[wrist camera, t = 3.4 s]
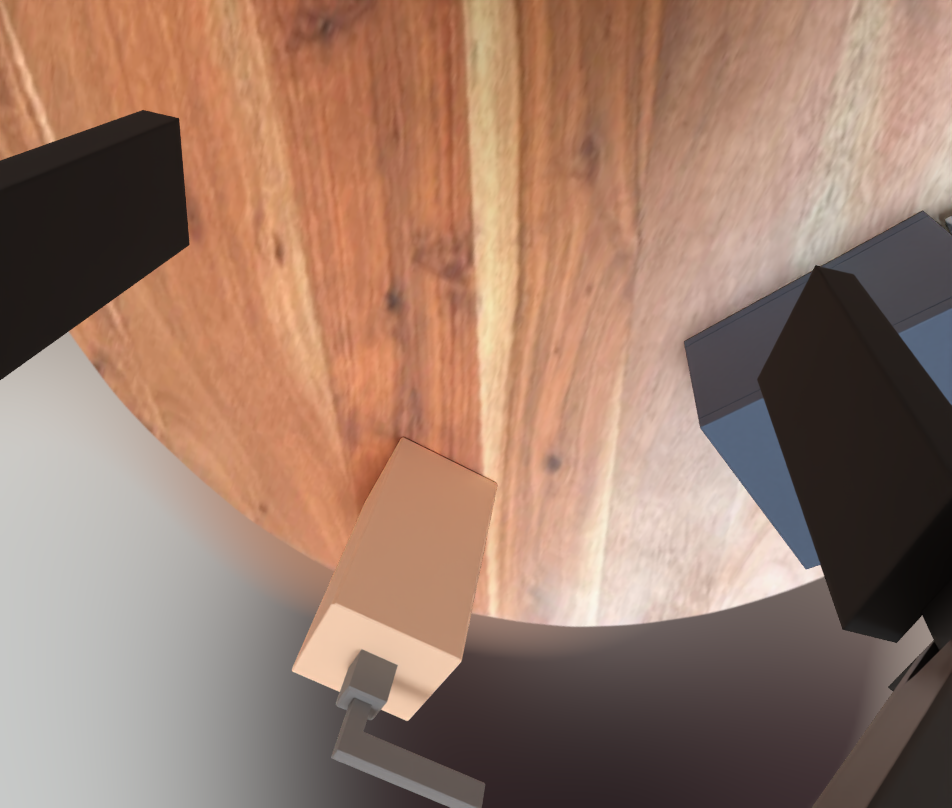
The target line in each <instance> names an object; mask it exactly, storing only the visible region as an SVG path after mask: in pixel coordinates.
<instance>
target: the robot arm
mask: <svg viewBox="0 0 952 808" xmlns="http://www.w3.org/2000/svg"><path fill="white" fill-rule="evenodd" d="M188 245H189V233H188V221H187V209H186V197H185V185H184V173H183V161H182V149H181V137H180V125H179V118H175V117H171V116H166V115H162V114H158V113H153V112H149V111H145V110H142V111H139V112H136V113H133V114H131V115H128V116H125V117H122V118H119V119H117V120H114V121H111V122H108V123H105V124H102V125H100V126H97V127H94V128H91V129H88V130H86V131H83V132H80V133H77V134H74V135H71V136H69V137H66V138H63V139H60V140H57V141H55V142H52V143H49V144H46V145H43V146H40V147H38V148H35V149H32V150H29V151H26V152H24V153H21V154H18V155H15V156H12V157H9V158H7V159H4V160H1V161H0V380H1V379H3V378H4V377H5V376H7V375H8V374H9V373H11V372H12V371H14V370H15V369H17V368H18V367H19V366H21V365H22V364H23V363H25V362H26V361H27V360H29V359H31V358H32V357H33V356H35V355H36V354H37V353H39V352H40V351H42V350H43V349H45V348H46V347H47V346H49V345H50V344H52V343H53V342H54V341H56V340H57V339H59V338H60V337H61V336H63V335H64V334H65V333H67V332H68V331H70V330H71V329H73V328H74V327H75V326H77V325H78V324H80V323H81V322H82V321H84V320H85V319H87V318H88V317H89V316H91V315H92V314H93V313H95V312H96V311H98V310H99V309H100V308H102V307H103V306H105V305H106V304H107V303H109V302H110V301H112V300H113V299H114V298H116V297H117V296H119V295H120V294H121V293H123V292H124V291H126V290H127V289H128V288H130V287H131V286H133V285H134V284H135V283H137V282H138V281H140V280H141V279H142V278H144V277H145V276H147V275H148V274H149V273H151V272H152V271H154V270H155V269H156V268H158V267H159V266H161V265H162V264H163V263H165V262H166V261H168V260H169V259H170V258H172V257H173V256H175V255H176V254H177V253H179V252H180V251H181V250H183V249H184V248H186V247H187V246H188ZM757 381H758V384H759V387H760V389H761V392H762V395H763V398H764V401H765V404H766V407H767V410H768V413H769V416H770V419H771V422H772V425H773V427H774V430H775V433H776V436H777V439H778V442H779V445H780V448H781V451H782V454H783V457H784V460H785V462H786V465H787V468H788V471H789V474H790V477H791V480H792V483H793V486H794V489H795V492H796V495H797V498H798V500H799V503H800V506H801V509H802V512H803V515H804V518H805V521H806V524H807V527H808V530H809V533H810V535H811V538H812V541H813V544H814V547H815V550H816V553H817V556H818V559H819V562H820V565H821V568H822V571H823V573H824V576H825V579H826V582H827V585H828V588H829V591H830V594H831V597H832V600H833V603H834V606H835V609H836V611H837V614H838V617H839V620H840V623H841V626H842V629H843V630H847V631H851V632H855V633H859V634H863V635H867V636H871V637H875V638H879V639H883V640H887V641H892V642H895V643H897V642H898V641H899V640H900V639H901V638H902V637H903V635H904V634H905V633H906V632H907V631H908V630H909V629H910V628H911V627H912V626H913V624H915V623H916V621H917V620H918V619H919V618H920V617H921V616H922V615H923V617H924V620H925V622H926V624H927V626H928V628H929V630H930V632H931V635H932V637H933V639H934V640H933V642H932V643H931V644H930V645H929V646H928V647H927V648H926V649H925V650H924V651H923V652H922V653H921V654H920V655H919V656H918V657H917V658H916V659H915V660H914V661H913V662H912V663H911V664H910V665H909V666H908V667H907V668H906V669H905V670H904V671H903V672H902V673H901V674H900V675H899V677H897V678H896V679H895V680H894V682H893V683H892V684H891V685H890V686H889V687H888V688H890V689H891V690H892V691H893V693H892V694H891V696H890V697H889V698H888V700H887V701H886V703H885V704H884V706H883V707H882V708H881V710H880V711H879V713H878V714H877V716H876V717H875V718H874V720H873V721H872V723H871V724H870V726H869V727H868V728H867V730H866V731H865V733H864V734H863V736H862V737H861V738H860V740H859V741H858V743H857V744H856V746H855V747H854V748H853V750H852V751H851V753H850V754H849V755H848V757H847V758H846V760H845V761H844V763H843V764H842V766H841V767H840V768H839V770H838V771H837V773H836V774H835V776H834V777H833V778H832V780H831V781H830V782H829V784H828V785H827V787H826V788H825V790H824V791H823V793H822V794H821V795H820V797H819V798H818V800H817V801H816V802H815V804H814V805H813V807H812V808H952V405H951V404H950V403H949V401H948V400H947V398H946V397H945V396H944V394H943V393H942V392H941V390H940V389H939V388H938V386H937V385H936V384H935V382H934V381H933V380H932V378H931V377H930V376H929V374H928V373H927V372H926V370H925V369H924V368H923V366H922V365H921V364H920V362H919V361H918V360H917V358H916V357H915V356H914V354H913V353H912V352H911V350H910V349H909V348H908V346H907V345H906V344H905V342H904V341H903V339H902V338H901V337H900V335H899V334H898V333H897V331H896V330H895V329H894V327H893V326H892V325H891V323H890V322H889V321H888V319H887V318H886V317H885V315H884V314H883V313H882V311H881V310H880V309H879V307H878V306H877V305H876V303H875V302H874V301H873V299H872V298H871V297H870V295H869V294H868V293H867V291H866V290H865V289H864V287H863V286H862V285H861V283H860V282H859V280H858V279H857V278H856V276H855V275H854V274H851V273H846V272H842V271H838V270H833V269H829V268H825V267H820V266H816V265H815V267H814V269H813V271H812V273H811V275H810V277H809V279H808V281H807V283H806V285H805V287H804V289H803V291H802V293H801V295H800V297H799V298H798V300H797V302H796V304H795V306H794V308H793V310H792V312H791V314H790V316H789V318H788V320H787V322H786V324H785V326H784V328H783V330H782V332H781V334H780V336H779V337H778V339H777V341H776V343H775V345H774V347H773V349H772V351H771V353H770V355H769V357H768V359H767V361H766V363H765V365H764V367H763V369H762V371H761V373H760V374H759V376H758V378H757Z"/></svg>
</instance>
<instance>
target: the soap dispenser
mask: <svg viewBox="0 0 952 808" xmlns="http://www.w3.org/2000/svg"><path fill="white" fill-rule="evenodd" d="M496 490H497V483H495V482H493V481H491V480H489V479H487V478H485V477H483V476H481V475H479V474H477V473H475V472H473V471H471V470H469V469H466V468H464V467H462V466H460V465H458V464H456V463H454V462H452V461H450V460H448V459H446V458H444V457H442V456H440V455H438V454H436V453H434V452H432V451H430V450H428V449H426V448H424V447H422V446H420V445H418V444H416V443H414V442H412V441H410V440H408V439H406V438H403V437H402V438H401V439H400V441H399V443H398V444H397V446H396V448H395V450H394V451H393V453H392V455H391V457H390V458H389V460H388V462H387V464H386V466H385V467H384V469H383V471H382V473H381V474H380V476H379V478H378V480H377V481H376V483H375V485H374V487H373V489H372V490H371V492H370V494H369V496H368V497H367V499H366V501H365V503H364V505H363V507H362V510H361V512H360V514H359V517H358V519H357V521H356V523H355V526H354V528H353V530H352V533H351V535H350V537H349V539H348V542H347V544H346V546H345V549H344V551H343V553H342V555H341V558H340V560H339V562H338V565H337V567H336V569H335V571H334V574H333V576H332V578H331V581H330V583H329V585H328V588H327V590H326V592H325V594H324V597H323V599H322V601H321V604H320V606H319V608H318V610H317V613H316V615H315V617H314V620H313V622H312V624H311V626H310V629H309V631H308V633H307V636H306V638H305V640H304V642H303V645H302V647H301V649H300V652H299V654H298V656H297V659H296V661H295V663H294V666H293V668H292V671H293V672H295V673H297V674H300V675H302V676H304V677H306V678H309V679H311V680H313V681H316V682H318V683H320V684H323V685H325V686H327V687H330V688H332V689H334V690H337V691H339V692H340V693H339V695H338V698H337V701H336V705H337V706H338V707H340V708H343V709H345V710H347V712H346V715H345V718H344V721H343V724H342V727H341V730H340V733H339V735H338V738H337V741H336V744H335V747H334V750H333V753H332V756H331V758H332V759H335V760H337V761H340V762H342V763H345V764H347V765H349V766H352V767H354V768H357V769H359V770H361V771H364V772H366V773H369V774H371V775H374V776H376V777H378V778H381V779H383V780H385V781H388V782H390V783H393V784H395V785H398V786H400V787H402V788H405V789H407V790H410V791H412V792H414V793H417V794H419V795H422V796H424V797H426V798H429V799H431V800H434V801H436V802H439V803H441V804H443V805H446V806H448V807H451V808H482V802H483V795H484V788H485V783H483V782H480V781H478V780H476V779H473V778H471V777H468V776H466V775H464V774H461V773H459V772H457V771H454V770H452V769H450V768H447V767H445V766H443V765H440V764H438V763H436V762H433V761H431V760H428V759H426V758H424V757H421V756H419V755H417V754H414V753H412V752H409V751H407V750H405V749H402V748H400V747H398V746H395V745H393V744H391V743H388V742H386V741H383V740H381V739H379V738H376V737H374V736H371V735H369V734H367V733H365V732H363V731H364V728H365V724H366V721H367V719H368V720H373V718H374V717H375V716H376V714H378V712H379V711H380V710H383V711H386V712H388V713H390V714H393V715H395V716H397V717H399V718H402V719H404V720H406V721H408V720H409V719H410V718H411V717H412V716H413V715H414V714H415V713H416V711H417V710H418V709H419V708H420V707H421V706H422V705H423V704H424V702H425V701H426V700H427V699H428V698H429V697H430V696H431V695H432V694H433V693H434V691H435V690H436V689H437V688H438V687H439V686H440V685H441V684H442V683H443V681H444V680H445V679H446V678H447V677H448V676H449V675H450V673H452V671H453V670H454V669H455V668H456V667H457V666H458V665H459V664H460V663H461V661H462V656H463V651H464V646H465V641H466V637H467V632H468V627H469V622H470V617H471V612H472V607H473V602H474V598H475V593H476V588H477V583H478V578H479V573H480V568H481V563H482V559H483V554H484V549H485V544H486V539H487V534H488V529H489V524H490V520H491V515H492V510H493V505H494V500H495V495H496Z"/></svg>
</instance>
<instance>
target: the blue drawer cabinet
mask: <svg viewBox="0 0 952 808" xmlns="http://www.w3.org/2000/svg"><path fill="white" fill-rule="evenodd" d="M821 267H825V268H829V269H833V270H838V271H842V272H846V273H851V274H854V275H855V276H856V278H857V279H858V280H859V282H860V283H861V285H862V286H863V287H864V289H865V290H866V291H867V293H868V294H869V295H870V297H871V298H872V299H873V301H874V302H875V303H876V305H877V306H878V307H879V309H880V310H881V311H882V313H883V314H884V315H885V317H886V318H887V319H888V321H889V322H890V323H891V325H892V326H893V327H894V329H895V330H896V331H897V333H898V334H899V335H900V337H901V338H902V339H903V341H904V342H905V344H906V345H907V346H908V348H909V349H910V350H911V352H912V353H913V354H914V356H915V357H916V358H917V360H918V361H919V362H920V364H921V365H922V366H923V368H924V369H925V370H926V372H927V373H928V374H929V376H930V377H931V378H932V380H933V381H934V382H935V384H936V385H937V386H938V388H939V389H940V390H941V392H942V393H943V394H944V396H945V397H946V398H947V400H948V401H949V403H950V404H951V405H952V235H951V234H950V233H949V232H947V231H946V230H945V229H944V228H943V227H942V226H940V225H939V224H938V223H937V222H936V221H934V220H933V219H932V218H931V217H930V216H929V215H928V214H926V213H925V212H924V211H922V212H920V213H918V214H916V215H914V216H913V217H911V218H909V219H907V220H905V221H903V222H902V223H900V224H898V225H896V226H894V227H892V228H891V229H889V230H887V231H885V232H883V233H882V234H880V235H878V236H876V237H874V238H872V239H871V240H869V241H867V242H865V243H863V244H861V245H860V246H858V247H856V248H854V249H852V250H850V251H849V252H847V253H845V254H843V255H841V256H840V257H838V258H836V259H834V260H832V261H830V262H829V263H827V264H825V265H823V266H821ZM811 273H812V272H810V273H808V274H807V275H805V276H803V277H801V278H799V279H797V280H796V281H794V282H792V283H790V284H788V285H787V286H785V287H783V288H781V289H779V290H777V291H776V292H774V293H772V294H770V295H768V296H766V297H765V298H763V299H761V300H759V301H757V302H755V303H754V304H752V305H750V306H748V307H746V308H745V309H743V310H741V311H739V312H737V313H735V314H734V315H732V316H730V317H728V318H726V319H724V320H723V321H721V322H719V323H717V324H715V325H713V326H712V327H710V328H708V329H706V330H704V331H702V332H701V333H699V334H697V335H695V336H693V337H692V338H690V339H688V340H686V341H684V345H685V350H686V355H687V360H688V366H689V371H690V376H691V382H692V387H693V392H694V398H695V403H696V408H697V414H698V419H699V424H700V428H701V430H702V431H703V432H704V434H705V435H706V436H707V438H708V439H709V440H710V442H711V443H712V444H713V446H714V447H715V448H716V450H717V451H718V452H719V454H720V455H721V456H722V458H723V459H724V460H725V462H726V463H727V464H728V466H729V467H730V469H731V470H732V471H733V473H734V474H735V475H736V477H737V478H738V479H739V481H740V482H741V483H742V485H743V486H744V487H745V489H746V490H747V491H748V493H749V494H750V495H751V497H752V498H753V499H754V501H755V502H756V503H757V505H758V506H759V507H760V509H761V510H762V511H763V513H764V514H765V515H766V517H767V518H768V519H769V521H770V522H771V523H772V525H773V526H774V527H775V529H776V530H777V531H778V533H779V534H780V535H781V537H782V538H783V539H784V541H785V542H786V543H787V545H788V546H789V547H790V549H791V550H792V551H793V553H794V554H795V555H796V557H797V558H798V559H799V561H800V562H801V564H802V565H803V566H804V568H805V569H809V568H812V567H815V566H818V565H820V562H819V559H818V556H817V553H816V550H815V547H814V544H813V541H812V538H811V535H810V533H809V530H808V527H807V524H806V521H805V518H804V515H803V512H802V509H801V506H800V503H799V500H798V498H797V495H796V492H795V489H794V486H793V483H792V480H791V477H790V474H789V471H788V468H787V465H786V462H785V460H784V457H783V454H782V451H781V448H780V445H779V442H778V439H777V436H776V433H775V430H774V427H773V425H772V422H771V419H770V416H769V413H768V410H767V407H766V404H765V401H764V398H763V395H762V392H761V389H760V387H759V384H758V381H757V378H758V376H759V374H760V373H761V371H762V369H763V367H764V365H765V363H766V361H767V359H768V357H769V355H770V353H771V351H772V349H773V347H774V345H775V343H776V341H777V339H778V337H779V336H780V334H781V332H782V330H783V328H784V326H785V324H786V322H787V320H788V318H789V316H790V314H791V312H792V310H793V308H794V306H795V304H796V302H797V300H798V298H799V297H800V295H801V293H802V291H803V289H804V287H805V285H806V283H807V281H808V279H809V277H810V275H811Z"/></svg>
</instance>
